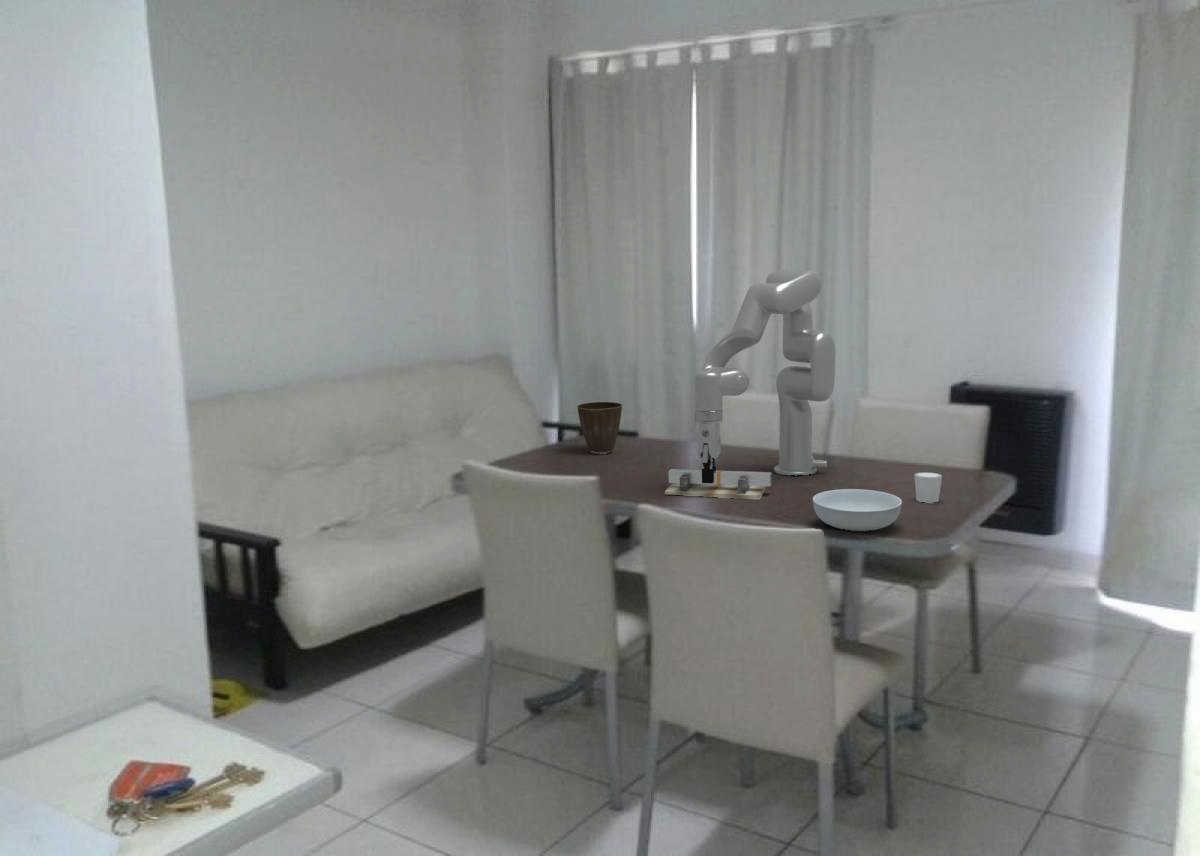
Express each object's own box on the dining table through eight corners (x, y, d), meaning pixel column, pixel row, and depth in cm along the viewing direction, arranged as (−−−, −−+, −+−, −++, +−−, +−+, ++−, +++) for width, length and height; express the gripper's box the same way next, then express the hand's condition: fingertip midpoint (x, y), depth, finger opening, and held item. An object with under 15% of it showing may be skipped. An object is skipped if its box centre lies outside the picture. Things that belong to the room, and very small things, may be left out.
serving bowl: (795, 528, 248) (795, 500, 247) (842, 511, 262) (843, 485, 261) (871, 544, 233) (872, 514, 232) (917, 525, 247) (918, 497, 246)
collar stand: (765, 489, 287) (765, 471, 286) (759, 499, 276) (759, 481, 275) (673, 485, 294) (673, 468, 293) (664, 495, 283) (664, 477, 282)
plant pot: (601, 458, 334) (600, 410, 331) (569, 453, 344) (567, 406, 341) (632, 451, 344) (631, 404, 342) (600, 446, 354) (598, 400, 352)
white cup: (919, 496, 275) (920, 470, 274) (945, 499, 271) (946, 473, 270) (909, 501, 270) (910, 475, 269) (935, 505, 266) (935, 478, 264)
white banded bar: (771, 484, 282) (771, 472, 281) (770, 486, 279) (770, 474, 278) (670, 480, 289) (670, 468, 289) (668, 483, 286) (668, 471, 286)
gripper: (717, 421, 273) (717, 488, 276) (726, 411, 288) (726, 475, 292) (689, 420, 275) (690, 487, 278) (700, 411, 290) (700, 474, 294)
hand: (708, 480), depth 285 cm, fingers closed on white banded bar, 3 cm apart
